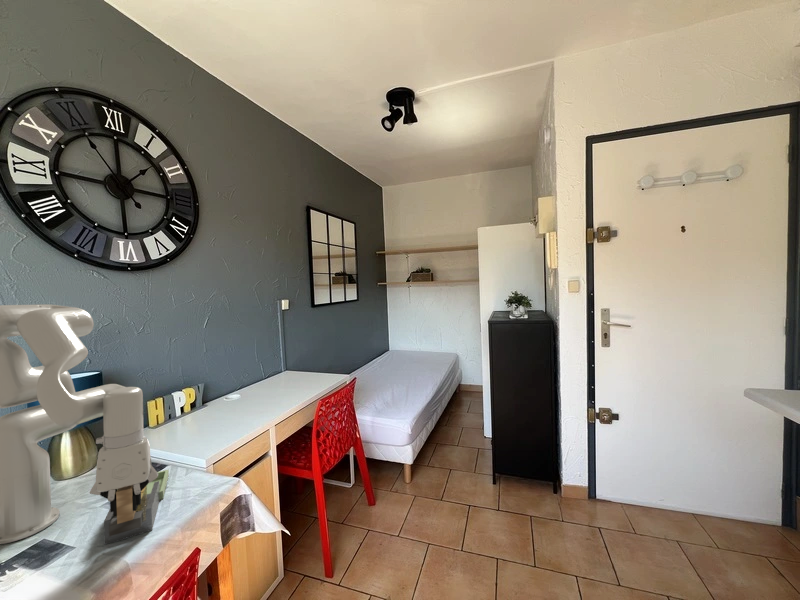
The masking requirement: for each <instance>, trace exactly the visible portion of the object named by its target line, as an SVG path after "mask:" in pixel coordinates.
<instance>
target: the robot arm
mask: <svg viewBox="0 0 800 600" xmlns="http://www.w3.org/2000/svg"><path fill="white" fill-rule="evenodd" d="M94 326H95V325H94V319H93V316H91V313H89V312H88V311H86V310H85V309H83V308H79V307H75V306H68V305H67V306H66V305H58V304H50V303H49V304H48V303H47V304H41V303H40V304H3V305H0V409H7V408H12V407H17V406H21V405H25V404H29V403H33V402H37V401H38V403H39V404H38V405H35V406H34V405H33V406H30V407H26V408H23V409H19V410H16V411H12V412H9V413H7V414H3V415H1V416H0V545H4V544H9V543H13V542H17V541H19V540H23V539H25V538H29V537H30V536H33V535H35V534H37V533H39V532H41V531H43V530H45V529H47V528H48V527H50V526H51V525H52V524H54V522H56V521H57V520H58V518H59V517H60V516H61V515H60V509H59V508H58V507H52V494H51V493H52V491H51V461H50V454H49V452H48V451H47V450H45V449H44V448H43V447H41V446H39V444H38V443H39V442H41V441H43V440H46V439H48V438H52V437H54V436H57V435H59V434H62V433H65V432H67V431H70V430H72V429H73V428H75V427H77V426H78V425H80V424H83V423H86V422H89V421H91V420H94V419H97V418H101V417H103V435H102V436H100V437H97V438H96V439H95V444H96V445H98V444H99V445H100V444H101V445H102V447H101V448H100V449H99V451H98V455H97V459H96V460H97V463H96V470H95V471H96V472H95V474H96V475H95V482H94V484H93V486H92V487H91V489H90V491H89V494H90V495H96V496H100V497H103V498H105V499H107V501H108V502H109V505H110V506H109V510H110V512H113V517H115V516H117V502H116V492H117V489H119V488H123V487H127V486H131V485H133V486H134V494H133V496H132V503H133V511H136V510H137V507H138V505H140V504H141V491H142V490H143V489H144V488H145V487H146V486H147V485H148V483H150V482H152V481H153V480H155V479H156V478H157V477H158V473H157V472H158V471H157V470H156V469H155V467H154V466H153V465H152V458H151V457H152V456H151V447H150V448H149V444H150V443H149V444H148V441H149V439H148V438H147V437H146V436H145V433H144V429H145V428H144V397H143V396H144V395H143V394H144V393H143V389H141V388H140V387H138V386H124V385H121V384H117V383H108V384H104V385H103V384H102V385H100V386H99V385H98V386H96V387H91V388H87V389H84V390H83V389H82V390H80V391H76V389H75V385H74V381H73V378H72V376H71V374H70V372H69V371H70V370H71V369H73V368H75V367H76V366H78V365H80V363H82V362H83V361H84V360H86V358H87V357H88V356H89V355H88V354H89V351H88V350H89V349H88V348H87V347H86V346H85V344H84V342H82V340H81V339H80V338H81V337H85V336H87V335H89V334H90V333H91V332H92V331H93V329H94ZM9 337H22V338H23V340H24V342H25V343H26V345H28V347H29V349H31V351H32V352H33V353H34V355H35V356H36V358H37V359H38V361H39V363H41V364H42V365H40V366H39V365H38V366H35V367H34V366H32V365H31V364H30V361H29V355H28V354H27V352H26V350H25V349H24V348H23V347H21V346H20V345H19V344H18V343H16V342H14V341H12V340H10V339H8V338H9ZM147 439H148V440H147Z"/></svg>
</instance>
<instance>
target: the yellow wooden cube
mask: <svg viewBox="0 0 800 600" xmlns="http://www.w3.org/2000/svg"><path fill="white" fill-rule="evenodd" d="M143 508H144V492H143V493H141V504H140V505H138V507H137V510H136V511H135V512H138V511H142V510H143Z"/></svg>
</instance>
